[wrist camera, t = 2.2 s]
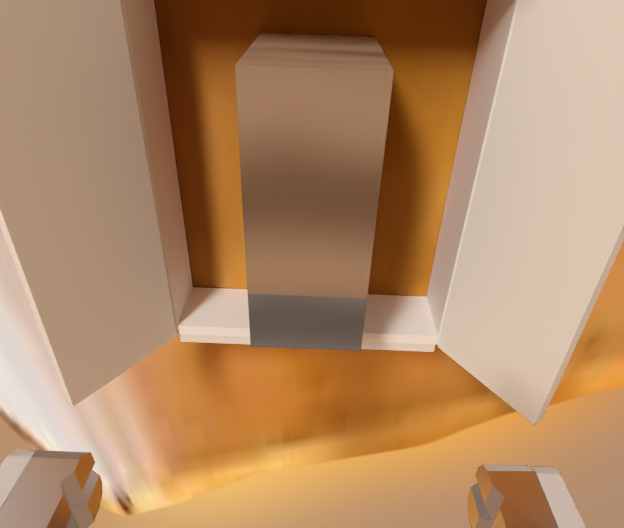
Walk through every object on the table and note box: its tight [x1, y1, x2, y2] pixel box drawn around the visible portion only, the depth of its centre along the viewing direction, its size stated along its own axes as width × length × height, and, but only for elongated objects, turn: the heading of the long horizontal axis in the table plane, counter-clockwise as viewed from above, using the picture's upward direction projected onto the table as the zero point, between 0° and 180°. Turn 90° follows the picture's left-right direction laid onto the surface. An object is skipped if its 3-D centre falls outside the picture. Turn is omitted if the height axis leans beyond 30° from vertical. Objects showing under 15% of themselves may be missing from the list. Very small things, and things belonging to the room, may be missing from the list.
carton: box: [0, 0, 624, 425], centre depth 20 cm, size 21×22×9 cm
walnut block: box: [235, 33, 394, 351], centre depth 21 cm, size 12×5×7 cm, turn 178°
